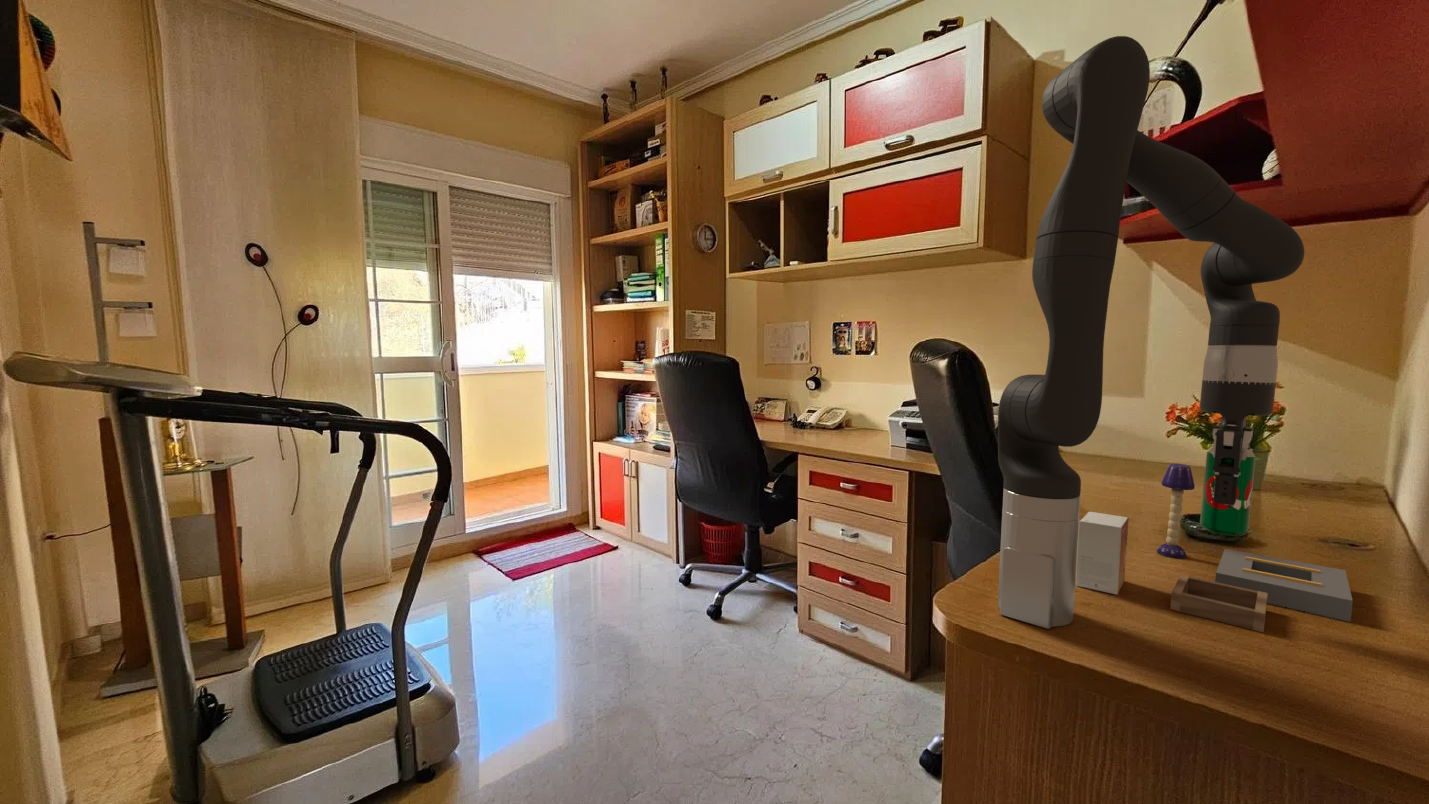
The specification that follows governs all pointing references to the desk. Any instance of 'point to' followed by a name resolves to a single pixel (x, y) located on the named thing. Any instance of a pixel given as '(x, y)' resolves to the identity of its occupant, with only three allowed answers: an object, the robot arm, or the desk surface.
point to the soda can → (1223, 515)
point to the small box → (1102, 552)
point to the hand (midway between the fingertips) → (1226, 499)
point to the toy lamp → (1175, 507)
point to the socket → (1289, 583)
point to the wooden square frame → (1220, 602)
